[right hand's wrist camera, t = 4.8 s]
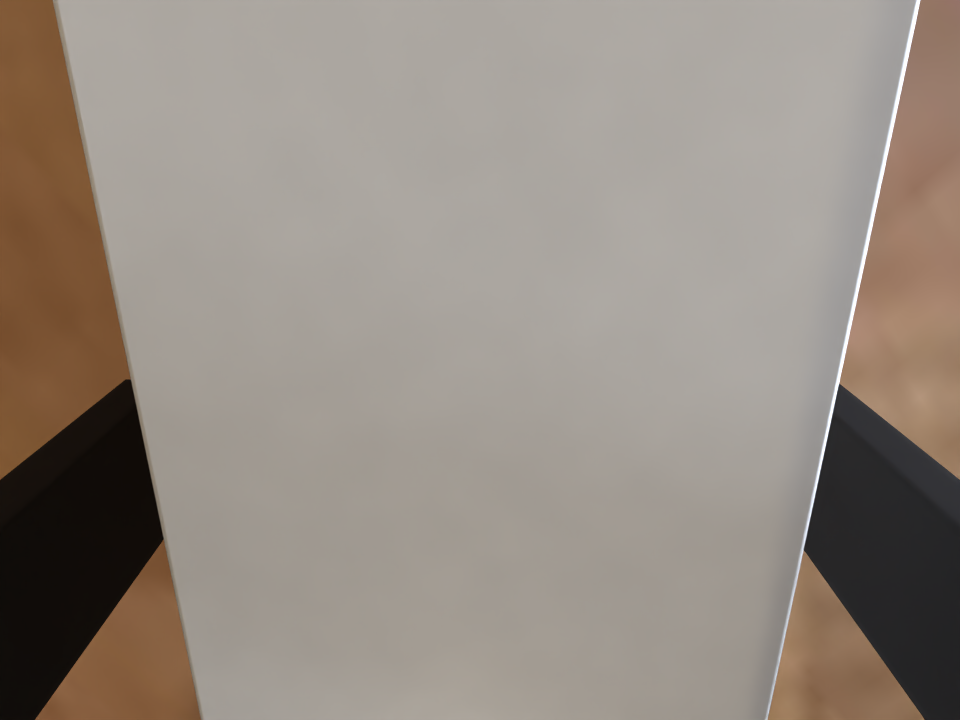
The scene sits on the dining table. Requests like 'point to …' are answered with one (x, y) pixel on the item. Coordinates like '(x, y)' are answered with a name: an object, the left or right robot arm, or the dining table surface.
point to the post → (485, 334)
